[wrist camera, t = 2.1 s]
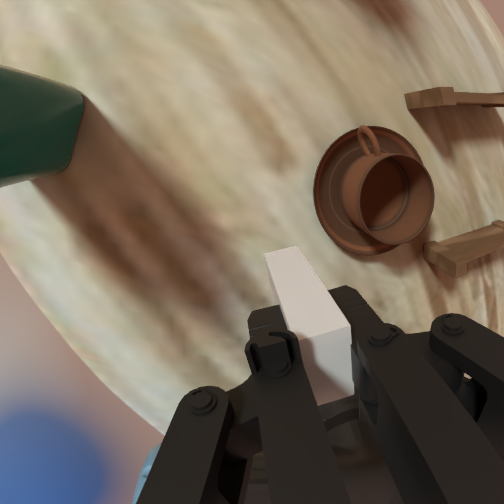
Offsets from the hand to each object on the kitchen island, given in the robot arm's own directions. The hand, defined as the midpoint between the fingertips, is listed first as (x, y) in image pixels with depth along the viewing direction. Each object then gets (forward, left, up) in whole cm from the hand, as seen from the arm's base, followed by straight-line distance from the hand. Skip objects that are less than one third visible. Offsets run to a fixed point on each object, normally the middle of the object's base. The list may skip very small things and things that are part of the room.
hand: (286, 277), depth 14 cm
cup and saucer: (0, -11, -15) cm, 18 cm away
